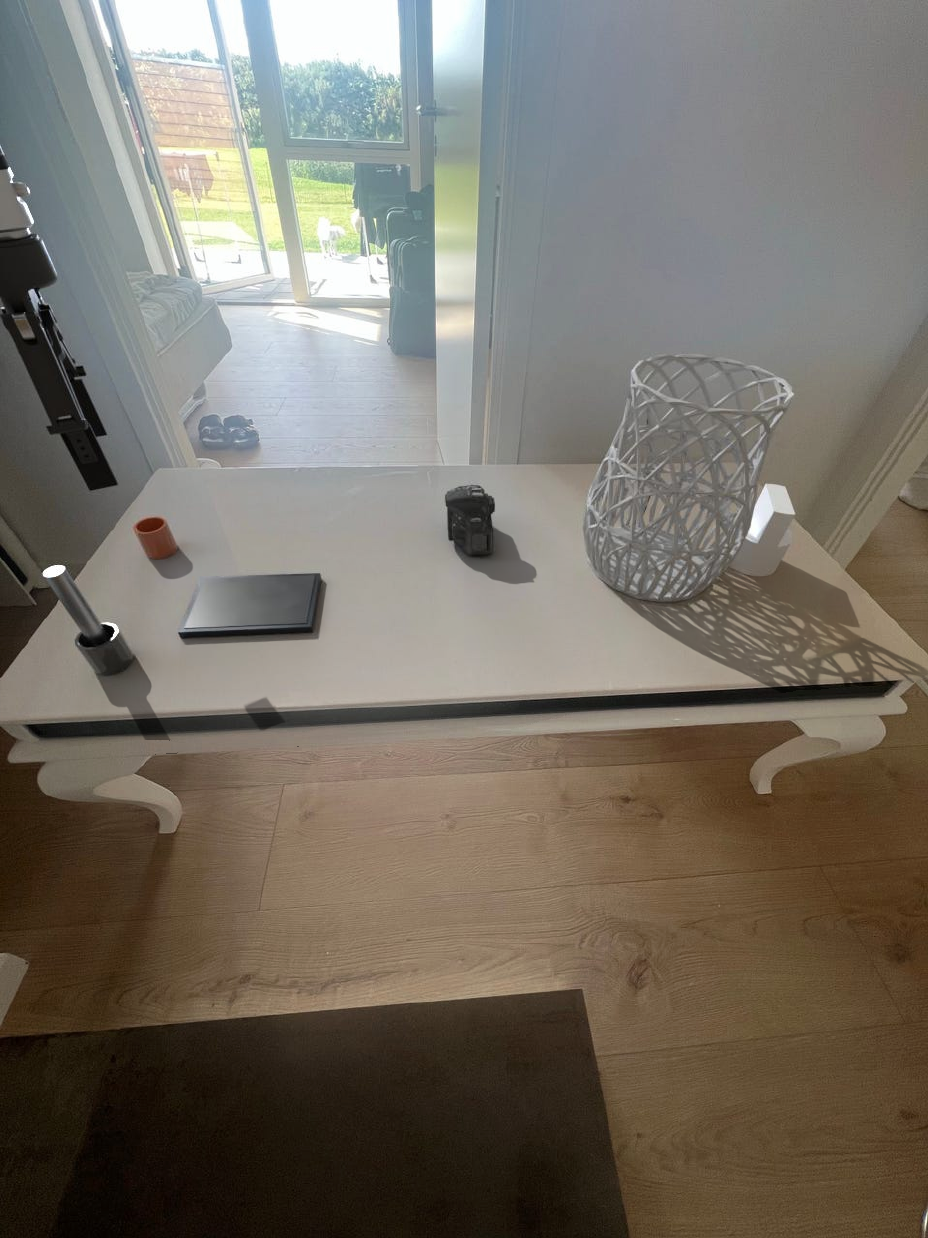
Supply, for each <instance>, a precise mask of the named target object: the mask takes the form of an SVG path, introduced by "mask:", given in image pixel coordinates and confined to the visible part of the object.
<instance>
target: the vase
mask: <svg viewBox="0 0 928 1238" xmlns="http://www.w3.org/2000/svg"><path fill="white" fill-rule="evenodd" d="M685 359H687V360H685ZM688 360H695V361H693V362H691V363H690V362H689V361H688ZM654 361H662V362H661V363H660V364H657V363H655V362H654ZM674 361H675V362H676V363H679V364H680V365H682V366H683V367H682V368H681V369H679V370H678V371H677V372H675V373H674V374H672V375H671V376H668V374H667V373H666V371H665V370H664V369H663V368H664V367H665V366H667V365H669V364H671V363H672V362H674ZM708 363H709V364H711V365H712V366H714V367H715V368H717V370H719V371H718V372H716V373H714V374H713V375H709V376H708V377H707V378H705V379H703V378H702V376H701V375H700V374H699V373H698V371H697V370H696V369H695V367H698V366H702V365H704V364H708ZM721 363H722V364H727V365H732V366H736V367H732V368H728V369H725V368H724V367H723V365H722V364H721ZM647 366H650V367H651V368H653V369H652V370H651V371H650V372H649V373H648V374H647V375H646V377H645V378H644V379H642V378H641V376H640V375H641V374H642V373H643V371H644V370H645V369H646V367H647ZM688 371H689V373H690V374H692V376H693V377H694V378H695V379H696V381H697V382H698V384H697V385H696V386H695V387H694V388H692V389H691V390H690V391H689V392H687V393H686V394H685V395H683V396H682V397H681V398H680V399H679V397H678V394H677V391H676V389H675V385H674V381H675V380H677V379H678V378H679V377H681V376H682V375H683V374H684V373H686V372H688ZM743 371H746V372H747V373H748V375H749V376H750V377H751V378H752V379H753V381H751V382H749V383H746V384H744V385H742V386H740V387H738V386H737V384H736V382H735V380H734V378H733V375H732V373H737V372H743ZM657 373H659V375H660V376H661V377H662V379H663V380H664V381H665V382H664V383H663V384H662V385H661V386H660V387H659V388H658V390H656V389H654V388H652V387H650V386H648V385H647V384H648V383H649V382H650V381H651V380H652V379H653V378H654V377H655V375H656V374H657ZM757 373H758V374H759V375H763V376H765V377H767V378H763V379H761V378H760V377H759V375H758V374H757ZM723 375H724V376H725V378H726V379H727V382H728V384H729V386H730V387H731V389H732V391H730V392H729V393H728V394H727V395H725V396H724V397H723V398H721V399H720V400H718V402H716V403H715V404H713V402H712V401H713V400H712V399H711V396H710V393H709V391H708V389H707V386H706V384H707V383H709V382H711V381H713V380H715V379H717V378H719V377H722V376H723ZM772 383H773V384H774V387H775V390H776V392H777V394H776V395H774V396H772V397H771V398H768V399H766V398H765V392H764V384H772ZM667 387H668V389H669V391H670V393H671V396H672V397H670V396H668V395H665V394H663V391H665V389H666V388H667ZM755 387H757V390H758V396H759V401H760V403H759V404H758V405H757V406H755V407H754V408H753V409H752V410H751V409H748V410H747V409H743V405H742V401H741V398H740V393H741V392H743V391H746V390H749V389H751V388H755ZM700 388H701V391H702V395H703V396H704V399H705V402H706V404H707V406H705V405H702V404H699V403H695V402H690V401H687V400H688V399H689V398H690V397H691V396H693V394H695V393H696V392H697V391H698V390H700ZM782 388H783V389H784V390H785V392H783V389H782ZM793 388H794V387H793V386H791V385H790V383H789V382H788V381H787V380H786V379H785V378H781V377H779V376H777V375H775V374H774V373H773V372H771V371H768V370H766V369H763V368H762V367H760V366H757V365H750V364H745V363H743V362H741V361H738V360H735V359H731V358H725V357H721V356H712V357H711V356H708V355H704V354H701V353H681V354H678V355H672V354H660V355H653V356H651V357H649V358H647V359H642V360H638V362H637V363H636V364H635V366H634V367H633V368H632V369H631V370H630V387H629V391H628V393H627V397H626V402H625V407H624V412H623V418H622V420H621V423H620V425H619V427H618V429H617V432H616V433H615V436H614V438H613V440H612V442H611V444H610V447H609V449H608V450H607V452H606V455H605V456H604V458H603V460H602V461H601V464H600V466H599V468H598V470H597V472H596V474H595V477H594V479H593V481H592V483H591V485H590V488H589V490H588V495H587V498H586V502H585V504H584V510H583V518H582V532H583V539H584V546H585V551H586V555H587V563H588V565H589V566H590V568H591V569H592V571H593V572H594V573H595V574H596V576H597V578H598V579H599V580H600V581H602V582H603V583H605V584H606V585H607V586H609V587H611V589H613V590H615V591H618V592H619V593H622V594H624V595H627V596H629V597H631V598H633V599H635V600H642V601H643V600H644V601H648V602H649V601H651V602H657V603H675V602H681V601H686V600H689V599H691V598H694V597H695V596H697V595H698V594H700V593H701V592H703V591H704V590H705V589H706V588H707V587H709V586H710V585H711V584H712V583H714V582H715V581H716V580H717V579H718V578H719V577H721V576H722V574H723V573H724V572H726V570H727V569H728V568H729V567H730V566H729V565H730V564H731V562H732V561H733V560H734V559H735V557H736V555H737V553H738V552H739V550H740V548H741V546H742V544H743V542H744V540H745V538H746V536H747V534H748V531H749V529H750V527H751V522H752V517H753V512H754V507H755V505H756V503H757V496H758V486H759V483H760V482H759V481H760V477H761V473H762V470H763V466H764V462H765V461H766V460H765V459H766V455H767V453H768V449H769V447H770V444H771V442H772V439H773V437H774V433H775V431H776V428H777V426H778V425H779V423H780V422H781V420H782V418H784V416H785V414H786V413H787V412H788V409H789V407H790V404H791V402H792V399H793V398H794V396H795V393H794V389H793ZM637 389H638V390H637ZM649 395H651V397H649ZM640 396H642V398H643V402H642V403H641V404H639V405H638V399H639V398H640ZM732 397H734V399H735V404H736V409H732V408H720V407H721V406H722V405H724V404H725V403H726V402H727V401H729V400H730V399H731V398H732ZM784 398H785V400H784ZM765 399H766V400H765ZM775 402H776V405H774V406H769V407H766V406H768V405H770V404H773V403H775ZM666 403H667V404H668V405H669V406H670V407H671V409H670V410H668V412H667V413H666V414H665V415H664V416H663V417H662V419H661V418H660V415H659V413H658V411H657V409H656V406H655V404H666ZM681 407H685V408H690V409H694V410H692V411H689V412H686V413H684V412H683V410H682V409H681ZM674 412H675V413H676V415H675V416H674V417H671V418H669V417H670V416H671V415H672V414H673V413H674ZM645 413H646V414H645ZM767 413H769V414H768V415H766V414H767ZM644 414H645V415H646V425H640V421H641V419H642V418H643V416H644ZM700 415H702V416H700ZM724 415H736V416H734V417H731V418H728V417H726V416H724ZM652 416H653V419H654V420H655V423H656V425H653V423H652ZM696 416H700V417H699V419H698V420H697V421H696V422H695V423H694V422H693V420H692V419H691V418H692V417H696ZM707 417H710V422H711V427H709V428H707V429H706V430H703V429H699V428H698V427H699V425H700V424H702V423H703V421H705V420H706V419H707ZM751 417H752V418H754V419H755V420H757V421H759V422H758V423H757V424H755V425H754V426H752V427H751V428H749V429H747V431H746V421H747V420H748V419H750V418H751ZM633 418H634V421H633V422H632V423H631V421H632V419H633ZM668 418H669V419H668ZM716 420H717V421H718V422H719V423H718V424H717V421H716ZM676 422H678V423H679V425H678V424H677V425H676V424H674V423H676ZM629 423H631V425H630V426H629ZM735 423H736V424H735ZM685 424H686V425H687V427H688V428H687V427H685ZM734 424H735V425H734ZM628 427H629V428H628ZM726 427H727V428H728V430H729V431H728V432H727V433H726V434H724V436H723V437H721V436H719V432H718V431H719V430H721V429H723V428H726ZM738 428H739V430H738ZM758 428H759V436H758V437H757V439H756V440H755V441H754V443H753V444H752V446H751V447H750V448H749V450H748V451H747V437H748V436H750V435H751V434H752V433H754V432H755V431H756V430H757V429H758ZM657 432H660V433H658V434H657V435H655V434H656V433H657ZM644 433H645V434H644ZM678 433H679V437H677V436H676V435H675V434H678ZM643 434H644V435H643ZM690 435H691V436H692V437H691V438H688V437H689V436H690ZM732 435H733V436H734V438H735V439H734V440H731V439H729V438H730V437H731V436H732ZM668 437H669V438H670V439H671V440H673V442H675V444H673V446H671V445H670V441H669V438H668ZM660 438H662V440H663V444H664V446H665V450H664V451H663V452H661V453H660V454H659V455H657V452H656V450H655V449H654V446H653V444H652V442H655V440H658V439H660ZM633 439H635V443H634V444H633V445H632V446H631V448H629V450H628V451H627V452H626V453H625V455H624V451H623V449H624V447H625V446H626V445H628V444H629V443H630V442H631V441H633ZM709 441H714V446H713V445H712V444H711V443H710V442H709ZM697 442H699V445H700V447H701V450H702V453H703V457H702V458H700V459H698V460H697V461H694V459H693V457H692V455H691V453H690V451H689V449H688V448H690V447H691V446H693V445H694V444H695V443H697ZM723 445H724V446H725V448H723V449H721V448H722V446H723ZM644 447H645V453H644V461H643V466H642V449H643V448H644ZM650 453H651V457H652V458H653V461H651V462H650V464H649V458H650ZM679 454H680V471H679V470H676V467H675V463H674V458H675V457H676V456H679ZM727 454H732V456H733V458H734V461H735V462H736V465H737V466H738V468H737V469H736V470H735V471H733V472H732V473H731V474H730V475H728V474H727V471H726V468H725V467H724V464H723V462H722V458H723V457H724V456H726V455H727ZM739 454H741V459H740V455H739ZM755 455H756V457H755ZM665 456H666V457H665ZM664 457H665V459H663V461H661V462H660V463H659V461H660V460H661V459H662V458H664ZM686 458H687V461H688V463H689V467H688V468H687V469H685V468H686ZM634 460H636V467H630V466H631V464H633V462H634ZM627 461H628V462H627ZM703 462H704V463H703ZM702 463H703V465H702V467H701V468H700V469H699V471H698V473H697V472H696V467H698V466H700V465H701V464H702ZM667 464H668V465H669V468H665V467H666V466H667ZM708 471H709V474H710V477H711V481H708V480H707V479H705V478H703V476H704V475H706V473H707V472H708ZM690 472H691V473H690ZM720 472H721V476H722V478H723V481H722V482H721V483H720V480H721V479H720ZM750 473H751V477H750ZM661 474H670V478H671V481H670V482H668V483H667V482H666V481H665V479H664V478H663V477H662V476H661ZM740 478H741V480H740ZM739 480H740V481H741V482H740V486H737V487H736V485H737V484H738V482H739ZM614 481H618V482H617V485H616V487H615V491H614ZM683 483H688V485H686V487H685V488H682V487H683ZM634 484H635V486H634ZM698 484H702V485H704V486H707V487H708V488H710V489H711V490H703V489H700V488H699V486H698ZM645 487H647V488H648V490H647V492H645ZM660 488H661V489H660ZM628 493H630V495H629V496H628V497H626V496H627V495H628ZM735 493H736V494H735ZM697 495H698V496H699V497H698V496H697ZM653 496H655V497H654V498H653V501H652V503H651V505H650V508H649V515H648V516H649V517H648V524H646V523H645V519H644V517H645V514H646V510H647V508H648V505H649V502H650V499H651V497H653ZM671 498H672V502H671ZM601 499H602V501H601ZM659 499H660V500H661V501H662V503H663V506H662V507H661V509H660V513H659V515H658V517H656V518H654V517H655V515H656V510H657V505H658V501H659ZM688 499H690V500H689V501H687V500H688ZM600 501H601V505H600ZM733 503H734V504H735V506H736V507H737V509H738V510H737V512H735V513H731V508H730V506H731V505H732V504H733ZM697 504H699V511H698V513H697V514H696V516H695V517H694V519H693V521H692V523H691V525H690V527H689V529H687V525H686V524H687V523H688V520H689V518H690V516H691V513H692V510H693V508H694V507H695V506H696V505H697ZM599 505H600V506H599ZM627 509H628V510H627ZM626 510H627V515H626V519H625V511H626ZM684 510H686V511H685V513H684V515H683V517H682V515H681V512H682V511H684ZM705 510H707V511H706V512H707V513H706V515H705V517H704V520H703V521H702V522H701V520H702V516H703V514H704V512H705ZM617 511H618V512H617ZM731 518H732V519H731ZM618 520H619V525H620V526H616V527H615V524H616V523H617V521H618ZM714 521H715V525H714V526H713V527H712V529H711V530H710V532H709V533H708V534H707V532H708V530H709V528H710V527H711V526H712V524H713V523H714ZM667 522H668V523H667ZM700 522H701V523H700ZM666 523H667V526H666V530H663V528H664V526H665V524H666ZM698 524H699V525H698ZM672 528H673V533H670V532H671V529H672ZM721 530H722V532H721ZM682 534H683V535H682ZM706 534H707V536H706ZM714 535H715V536H714ZM705 536H706V537H705ZM713 537H714V541H713V542H712V544H711V545H710V546H709V547H708V548H706V547H707V545H708V544H709V543H710V541H711V540H712V538H713ZM704 538H705V539H704ZM703 540H704V541H703ZM702 542H703V543H702ZM701 543H702V545H701ZM700 546H701V547H700ZM699 547H700V548H699ZM732 549H733V550H732ZM709 555H711V556H710V557H709V558H708V559H706V558H707V556H709Z"/></svg>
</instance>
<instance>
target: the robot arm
mask: <svg viewBox="0 0 928 1238" xmlns="http://www.w3.org/2000/svg"><path fill="white" fill-rule="evenodd" d="M13 177H14V173H13V171H12V170H11V167H10V163H9V161H8V159H7V156H6V155H5V153H4V151H3V148H2V146H1V145H0V300H1V303H2V305H3V306H1V307H0V310H1V313H0V319H1V322H2V324H3V326H4V328H5V330H7V332H8V333H9V335H10V337H11V339H12V340H13V343H14V345H15V348H16V349H17V352H18V354H19V356H20V357H21V360H22V362H23V364H24V367H25V369H26V371H27V373H28V375H29V378H30V380H31V382H32V384H33V386H34V389H35V391H36V393H37V396H38V397H39V400H40V402H41V404H42V406H43V408H44V410H45V413H46V415H47V417H48V420H49V422H50V425H46V426H45V428H46V430H47V432H48V433H49V435H51V436H53V435H60V437H61V439H62V441H63V443H64V445H65V447H66V449H67V451H68V452H69V454H70V456H71V458H72V460H73V462H74V464H75V466H76V468H77V469H78V472H79V474H80V476H81V477H82V479H83V480H84V483H85V484H86V487H87V488H88V491H90V492H92V491H97V490H101V489H106V488H111V487H116V486H119V482H118V480H117V478H116V475H115V473H114V471H113V470H112V468H111V465H110V463H109V461H108V459H107V456H106V455H105V453H104V451H103V449H102V445H100V442H99V440H98V439H97V438H100V437H104V436H108V434H107V430H106V428H105V426H104V424H103V422H102V419H101V418H100V414H99V412H98V411H97V409H96V406H95V404H94V402H93V399H92V397H91V395H90V394H89V392H88V389H87V387H86V385H85V382H84V381H83V378H81V377H87V376H88V375H87V372H86V370H85V367H84V365H77V362H76V359H75V357H73V355H72V354H71V352H70V350H69V347H68V346H67V344H66V342H65V340H64V337H63V335H62V331H61V329H60V327H59V324H58V321H57V318H56V315H55V312H54V310H53V308H52V306H51V304H50V303H49V302H47V303H46V302H45V300H44V298H43V296H42V294H41V292H40V291H41V290H42V289H45V288H48V287H51V286H53V285H54V284H56V283H57V282H58V280H59V275H58V272H57V270H56V268H55V266H54V263H53V261H52V259H51V256H50V255H49V252H48V249H47V247H46V245H45V242H44V241H43V238H42V237H41V236H39V235H38V234H37V233H35V232H32V231H30V229H31V228H32V227H33V225H34V223H35V221H34V218H33V217H32V214H31V212H30V210H29V207H28V205H27V203H26V202H25V200H24V199H22V198H26V197H30V196H31V192H30V189H29V187H28V186H27V185H26V183H25V182H21V181H16V182H15V181H14V182H13ZM68 416H70V417H68ZM62 417H64V418H62ZM65 417H66V418H65Z"/></svg>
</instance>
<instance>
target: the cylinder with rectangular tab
mask: <svg viewBox="0 0 928 1238" xmlns="http://www.w3.org/2000/svg"><path fill="white" fill-rule="evenodd" d="M795 516H796V512H795V509H794V506H793V504H792V501H791V498H790V496H789V492H788V490H787V488H786V486H784V485H780V484H775V483H765V484H764V486H763V488H762V491H761V492H760V495H759V496H758V498H757V500H756V502H755V507H754V512H753V517H752V522H751V527H750V529H749V531H748V534H747V536H746V538H745V540H744V542H743V544H742V546H741V548H740V550H739V552H738V553H737V555H736V557H735V559H734V560H733V561H732V562H731V564H730V565H729V566H728V567H730V568H731V569H733V570H734V571H736V572H737V573H741V574H744V575H747V576H751V577H768V576H770V575H772V574H774V573H775V572H776V570H777V569H778V567H779V565H780V564H781V562H782V560H783V558H784V557H785V555H786V553H787V551H788V549H789V547H790V546H791V544H792V542H793V540H794V535H793V533H792V532H791V530H790V529H789V527H790V525H791V523H792V521H794V520H793V519H794V518H795ZM732 550H733V549H732Z"/></svg>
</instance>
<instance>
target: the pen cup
mask: <svg viewBox="0 0 928 1238" xmlns="http://www.w3.org/2000/svg"><path fill="white" fill-rule="evenodd" d="M132 528H133V533H135V536H136V538H137V540H138V542H139V544H140V546H141V548H142V551H143V552H144V554H145V555H146V557H147V558H149V559H151V560H161V559H166V558H168V557H170V556H172V555H173V554H175V553H176V552H177V550H178V545H177V541H176V540H175V537H174V534H173V533H172V530H171V528H170V526H169V523H168V521H167V519H166V518H164V517H162V516H149V517H145V518H142V519H141V520H139V521H137V522H136V523H135V524H134V525H133V527H132Z"/></svg>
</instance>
